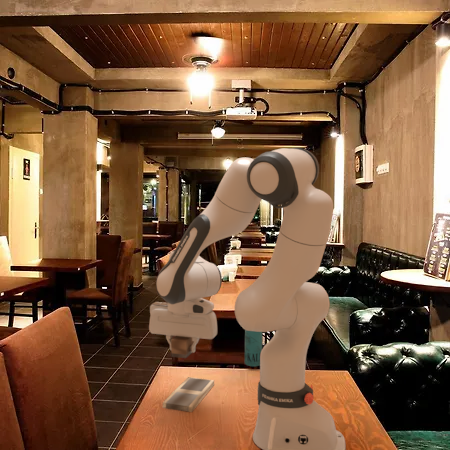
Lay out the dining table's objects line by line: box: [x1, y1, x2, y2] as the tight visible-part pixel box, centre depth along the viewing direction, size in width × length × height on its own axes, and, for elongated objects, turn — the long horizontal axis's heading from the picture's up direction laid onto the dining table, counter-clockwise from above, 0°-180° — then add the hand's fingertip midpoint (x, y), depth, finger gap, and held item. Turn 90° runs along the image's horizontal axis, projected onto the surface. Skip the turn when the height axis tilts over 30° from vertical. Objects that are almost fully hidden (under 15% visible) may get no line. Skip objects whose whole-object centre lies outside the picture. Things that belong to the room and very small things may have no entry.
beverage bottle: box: [243, 329, 264, 367], centre depth 160 cm, size 6×7×20 cm
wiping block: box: [170, 336, 194, 359], centre depth 131 cm, size 4×7×5 cm, turn 163°
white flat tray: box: [162, 376, 215, 413], centre depth 137 cm, size 9×20×2 cm, turn 163°
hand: (182, 350), depth 130 cm, fingers closed on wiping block, 4 cm apart
